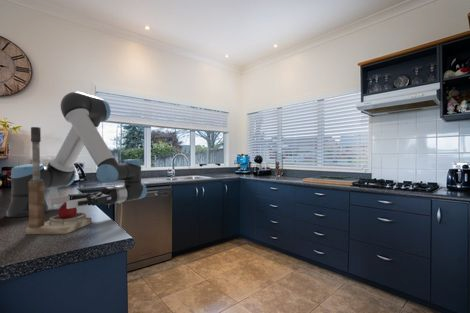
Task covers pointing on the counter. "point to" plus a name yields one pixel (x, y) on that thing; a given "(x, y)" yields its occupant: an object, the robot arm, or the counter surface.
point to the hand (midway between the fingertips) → (58, 203)
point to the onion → (66, 212)
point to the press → (37, 200)
